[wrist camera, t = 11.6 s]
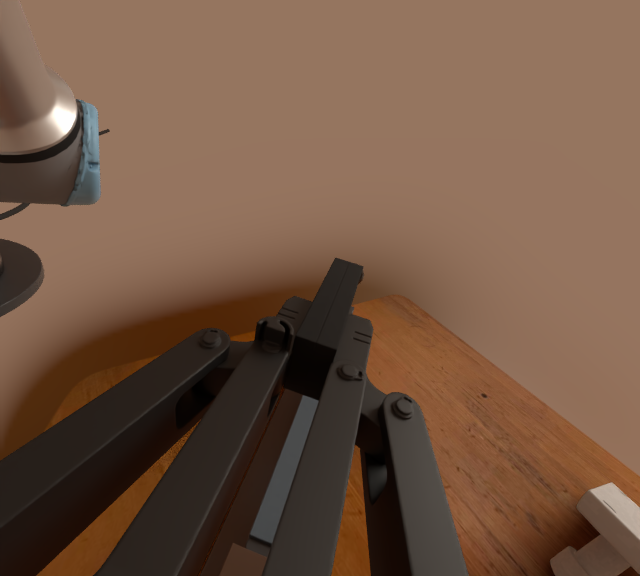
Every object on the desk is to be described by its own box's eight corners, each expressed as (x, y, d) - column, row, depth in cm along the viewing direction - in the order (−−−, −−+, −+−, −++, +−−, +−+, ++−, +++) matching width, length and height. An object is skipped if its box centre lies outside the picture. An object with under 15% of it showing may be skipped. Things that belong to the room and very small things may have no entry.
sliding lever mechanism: (278, 664, 21) (305, 627, 16) (181, 619, 21) (177, 570, 16) (352, 361, 45) (372, 309, 40) (305, 345, 46) (319, 292, 41)
